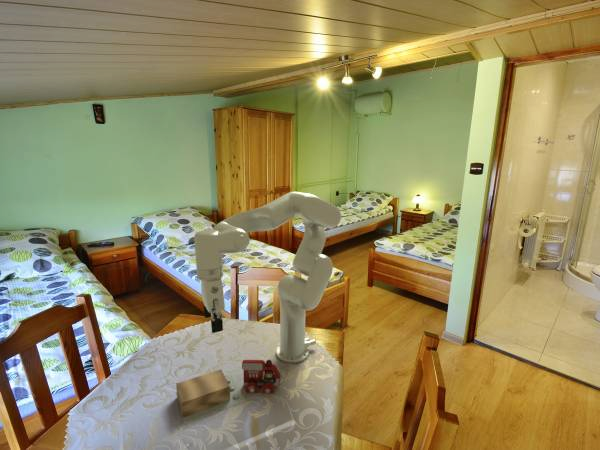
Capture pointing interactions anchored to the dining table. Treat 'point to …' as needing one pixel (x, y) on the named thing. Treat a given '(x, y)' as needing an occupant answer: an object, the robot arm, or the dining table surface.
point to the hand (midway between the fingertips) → (213, 323)
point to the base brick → (202, 392)
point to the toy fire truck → (260, 376)
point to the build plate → (234, 400)
